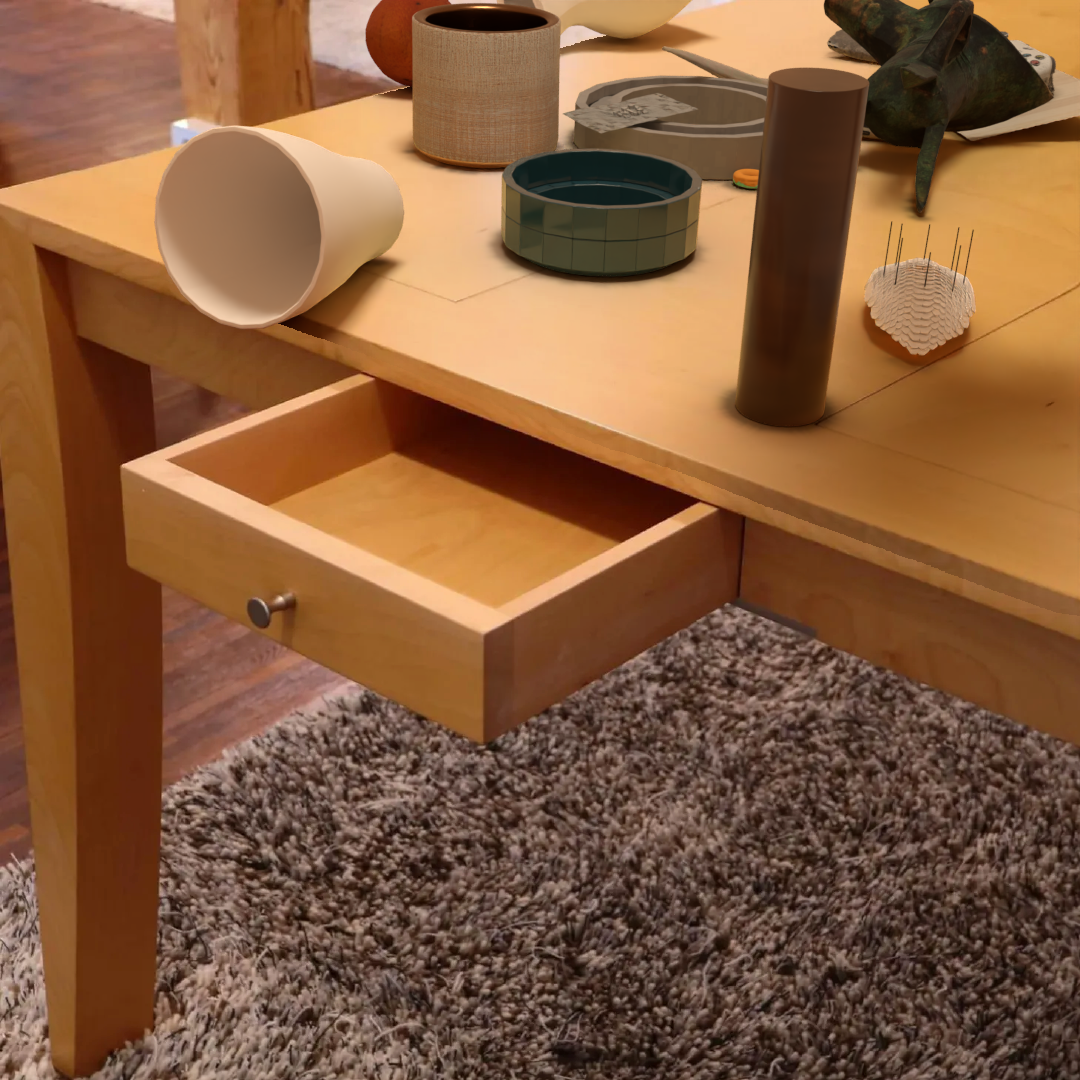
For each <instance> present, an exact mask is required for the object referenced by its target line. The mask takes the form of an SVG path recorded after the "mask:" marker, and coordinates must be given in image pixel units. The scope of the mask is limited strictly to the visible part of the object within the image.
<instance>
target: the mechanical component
mask: <svg viewBox="0 0 1080 1080" xmlns="http://www.w3.org/2000/svg"><path fill="white" fill-rule="evenodd" d="M767 88H768V85H763V84H758V83H753V82H747V81H742V80H735V79H725V78H718V77H715V76H703V75H702V76H701V75H651V76H638V77H636V76H635V77H625V78H621V79H615V80H610V81H606V82H605V81H604V82H601V83H597V84H595V85H592V86H590V87H588V88H586V89H584V90H581V91H580V92H579V94H578V95H577V98H576V101H575V105H574V110H578V109H583V108H588V107H596V106H601V105H605V104H611V103H619V102H623V101H626V100H630V99H633V98H638V97H642V96H646V95H652V94H656V93H659V94H662V95H665V96H667V97H670V98H672V99H674V100H677V101H679V102H682V103H685V104H687V105H690V106H692V107H695V108H697V110H692V111H689V112H684V113H679V114H675V115H671V116H667V117H663V118H659V119H656V120H652V121H648V122H643V123H638V124H634V125H631V126H628V127H624V128H620V129H616V130H612V131H607V132H604V133H599V132H597V131H595V130H593V129H591V128H588V127H586V126H584V125H582V124H580V123H578V122H577V121H575V120H574V131H573V144H574V145H575V146H576V147H577V149H594V148H597V149H599V148H600V149H615V150H627V151H634V152H641V153H647V154H653V155H657V156H660V157H664V158H667V159H671V160H674V161H677V162H680V163H682V164H684V165H686V166H688V167H689V168H691V169H693V170H695V171H696V173H697V174H698V175H699V176H700V177H701V178H702V180H733V174H734V173H735V172H736V171H737V170H740V169H756V170H759V166H760V156H761V146H762V136H763V127H764V117H765V107H766V97H767Z"/></svg>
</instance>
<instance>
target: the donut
mask: <svg viewBox="0 0 1080 1080" xmlns="http://www.w3.org/2000/svg"><path fill="white" fill-rule="evenodd" d="M758 175H759V170H756V169H740V170H737V171H736V172H735V173H734V174H733V179H732V182H733V183H734V184H735V185H736V186H737V187H741V188H745V189H752V190H754V189H756V190H757V185H758Z"/></svg>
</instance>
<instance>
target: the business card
mask: <svg viewBox="0 0 1080 1080" xmlns="http://www.w3.org/2000/svg"><path fill="white" fill-rule="evenodd" d="M692 110H697V108H695V107H692V106H690V105H687V104H685V103H682V102H679V101H677V100H674V99H672V98H670V97H667V96H665V95H662V94H659V93H656V94H652V95H646V96H642V97H638V98H633V99H630V100H626V101H623V102H619V103H611V104H605V105H601V106H596V107H588V108H583V109H578V110H575V109H574V110H571V111H567V112H563V113H562V115H564V116H565V117H568V118H570V119H571V120H573V121H574V122H575V121H577V122H578V123H580V124H582V125H584V126H586V127H588V128H591V129H593V130H595V131H597V132H599V133H604V132H607V131H612V130H616V129H620V128H624V127H628V126H631V125H634V124H638V123H643V122H648V121H652V120H656V119H659V118H663V117H667V116H671V115H675V114H679V113H684V112H689V111H692Z"/></svg>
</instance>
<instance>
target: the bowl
mask: <svg viewBox="0 0 1080 1080" xmlns="http://www.w3.org/2000/svg"><path fill="white" fill-rule="evenodd" d="M702 188H703V179H702V178H701V177H700V176H699V175H698V174H697V173H696V171H695V170H693V169H691V168H689V167H688V166H686V165H684V164H682V163H680V162H677V161H674V160H671V159H667V158H664V157H660V156H657V155H653V154H647V153H641V152H634V151H627V150H615V149H600V148H599V149H597V148H594V149H579V148H567V149H559V150H554V151H550V152H543V153H539V154H535V155H531V156H527V157H524V158H520V159H519V160H517V161H515V162H513V163H511V164H509V165H508V166H507V167H506V168H504V170H503V172H502V174H501V204H500V205H501V211H500V236H501V238H502V240H503V243H504V245H505V247H506V248H508V249H509V250H511V251H512V252H514V253H515V254H516V255H518V256H520V257H522V258H524V259H525V260H527V261H528V262H530V263H532V264H535V265H536V266H539V267H542V268H544V269H546V270H547V269H548V270H551V271H556V272H559V273H564V274H571V275H576V276H585V277H587V276H588V277H603V278H605V277H612V278H613V277H627V276H636V275H643V274H649V273H653V272H656V271H660V270H663V269H665V268H668V267H670V266H671V265H673V264H676V263H677V262H679V261H682V260H684V259H686V258H688V256H690V255H691V254H692V253H693V252H694V251H696V249H697V244H698V236H699V225H700V213H701V212H700V211H701V201H702Z"/></svg>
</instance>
